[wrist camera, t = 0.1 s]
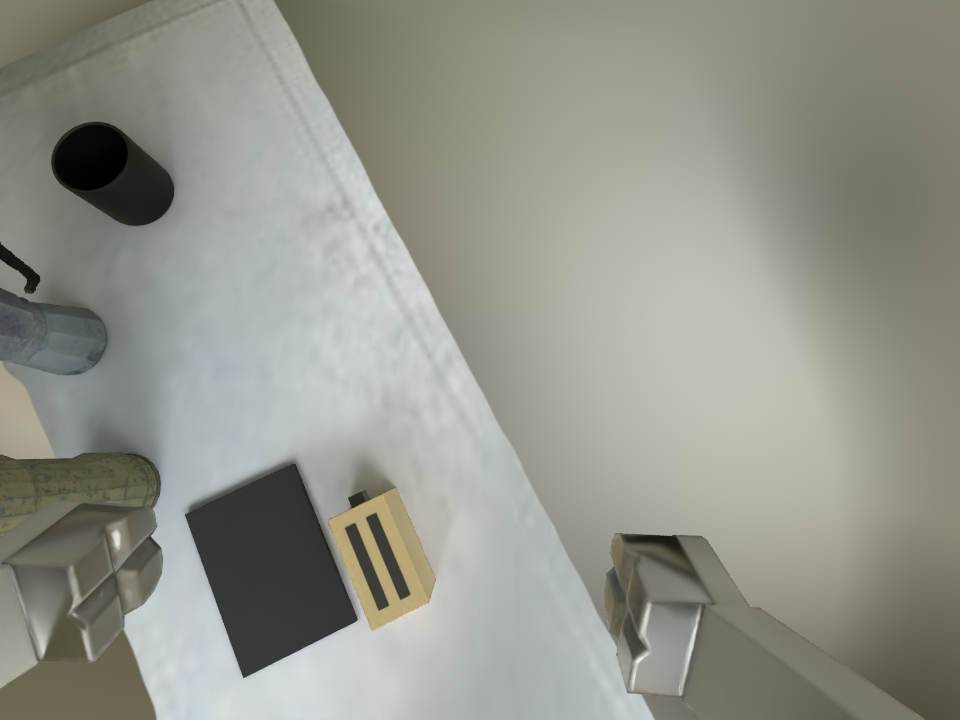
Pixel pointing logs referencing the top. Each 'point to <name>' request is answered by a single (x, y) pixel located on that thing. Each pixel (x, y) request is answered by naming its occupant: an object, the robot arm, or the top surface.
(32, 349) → the moka pot
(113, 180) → the mug
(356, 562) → the toaster
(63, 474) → the thermos
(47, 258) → the top surface
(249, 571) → the mat
